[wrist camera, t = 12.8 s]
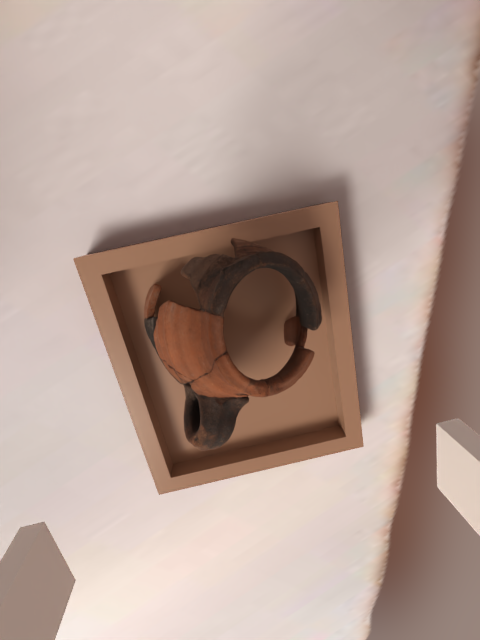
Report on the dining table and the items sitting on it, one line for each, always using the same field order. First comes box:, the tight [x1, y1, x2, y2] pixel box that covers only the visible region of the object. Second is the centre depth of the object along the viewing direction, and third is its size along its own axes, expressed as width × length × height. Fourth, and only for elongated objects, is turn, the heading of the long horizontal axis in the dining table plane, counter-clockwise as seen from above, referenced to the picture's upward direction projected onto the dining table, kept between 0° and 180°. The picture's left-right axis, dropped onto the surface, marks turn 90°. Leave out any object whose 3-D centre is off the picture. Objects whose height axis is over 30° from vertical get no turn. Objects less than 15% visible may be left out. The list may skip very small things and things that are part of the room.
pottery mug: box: [144, 238, 322, 451], centre depth 20 cm, size 12×10×8 cm
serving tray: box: [74, 201, 363, 495], centre depth 22 cm, size 15×17×2 cm
